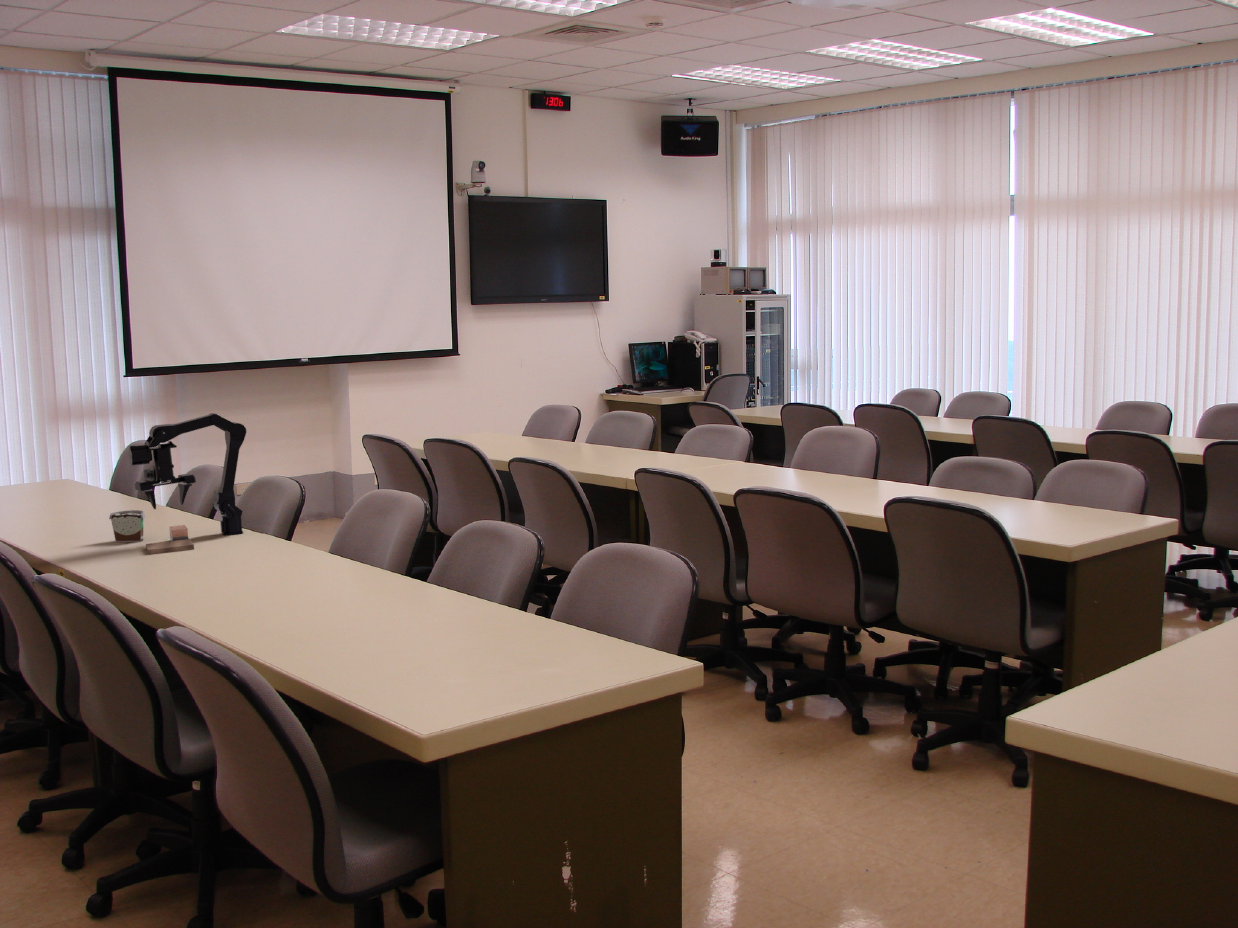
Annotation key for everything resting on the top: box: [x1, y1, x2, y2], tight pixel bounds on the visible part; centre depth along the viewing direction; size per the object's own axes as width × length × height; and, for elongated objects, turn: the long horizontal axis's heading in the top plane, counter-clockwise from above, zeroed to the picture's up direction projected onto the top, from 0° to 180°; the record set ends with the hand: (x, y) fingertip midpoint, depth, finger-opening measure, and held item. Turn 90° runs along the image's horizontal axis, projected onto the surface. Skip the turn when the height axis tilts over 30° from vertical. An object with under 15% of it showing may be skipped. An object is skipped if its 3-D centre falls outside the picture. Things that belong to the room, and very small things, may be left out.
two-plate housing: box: [168, 524, 189, 541], centre depth 375 cm, size 5×8×5 cm, turn 28°
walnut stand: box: [145, 538, 195, 555], centre depth 364 cm, size 14×11×2 cm
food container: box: [109, 509, 146, 543], centre depth 380 cm, size 12×6×10 cm, turn 84°
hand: (168, 506), depth 374 cm, fingers open, 9 cm apart
